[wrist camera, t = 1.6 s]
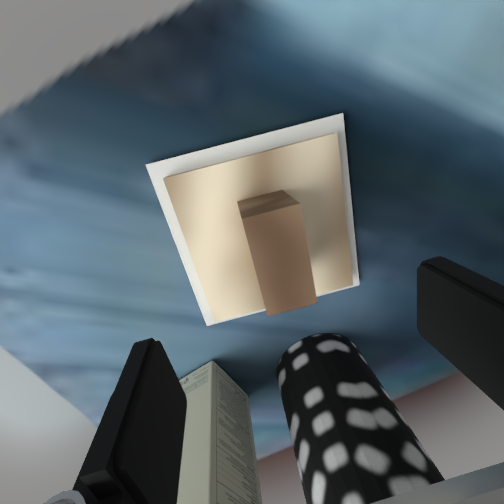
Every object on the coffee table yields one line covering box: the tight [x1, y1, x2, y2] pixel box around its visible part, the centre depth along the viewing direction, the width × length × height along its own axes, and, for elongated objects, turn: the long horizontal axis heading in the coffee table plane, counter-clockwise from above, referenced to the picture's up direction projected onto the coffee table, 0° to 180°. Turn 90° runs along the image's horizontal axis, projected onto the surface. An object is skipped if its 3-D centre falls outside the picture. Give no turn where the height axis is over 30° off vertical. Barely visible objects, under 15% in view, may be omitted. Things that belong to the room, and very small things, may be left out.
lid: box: [163, 133, 353, 322], centre depth 17 cm, size 11×11×6 cm
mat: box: [146, 113, 359, 326], centre depth 20 cm, size 13×13×1 cm
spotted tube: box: [276, 334, 445, 504], centre depth 17 cm, size 8×8×20 cm
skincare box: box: [177, 361, 262, 504], centre depth 20 cm, size 6×4×12 cm
